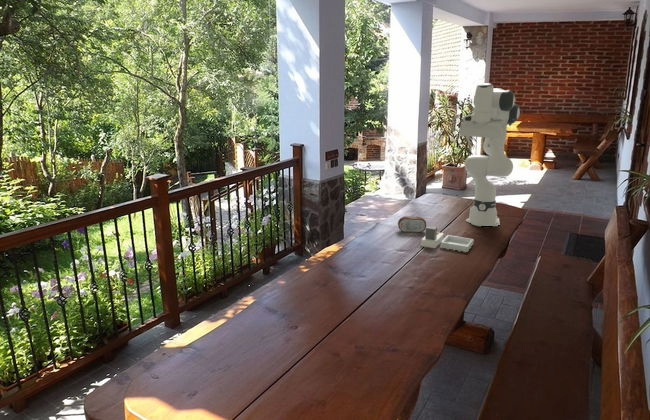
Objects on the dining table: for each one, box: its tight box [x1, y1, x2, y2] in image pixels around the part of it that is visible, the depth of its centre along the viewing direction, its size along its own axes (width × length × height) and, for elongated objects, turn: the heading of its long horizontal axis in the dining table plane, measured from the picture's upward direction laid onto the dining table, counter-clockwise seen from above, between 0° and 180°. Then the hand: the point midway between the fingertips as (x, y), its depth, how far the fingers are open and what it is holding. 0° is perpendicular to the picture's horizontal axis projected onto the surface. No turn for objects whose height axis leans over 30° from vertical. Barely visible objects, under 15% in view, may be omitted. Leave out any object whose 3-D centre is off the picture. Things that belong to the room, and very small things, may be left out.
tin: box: [397, 215, 427, 234], centre depth 263 cm, size 15×3×8 cm, turn 84°
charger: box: [424, 225, 438, 240], centre depth 243 cm, size 4×4×7 cm
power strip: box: [420, 231, 445, 249], centre depth 249 cm, size 21×7×4 cm, turn 151°
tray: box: [439, 234, 474, 253], centre depth 242 cm, size 13×13×3 cm
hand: (479, 146), depth 242 cm, fingers open, 8 cm apart
